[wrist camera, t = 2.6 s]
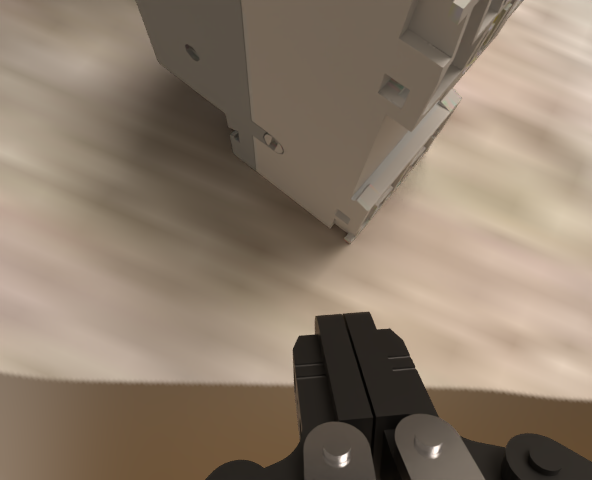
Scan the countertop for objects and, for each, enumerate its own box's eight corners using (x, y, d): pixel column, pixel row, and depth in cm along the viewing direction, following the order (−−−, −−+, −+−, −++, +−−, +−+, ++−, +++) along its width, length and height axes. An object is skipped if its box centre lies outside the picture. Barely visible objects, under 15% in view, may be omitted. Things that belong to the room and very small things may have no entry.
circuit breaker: (240, 14, 27) (202, -390, 13) (429, 148, 25) (636, -166, 11) (153, 91, 25) (-5, -287, 11) (350, 244, 23) (474, 16, 9)
